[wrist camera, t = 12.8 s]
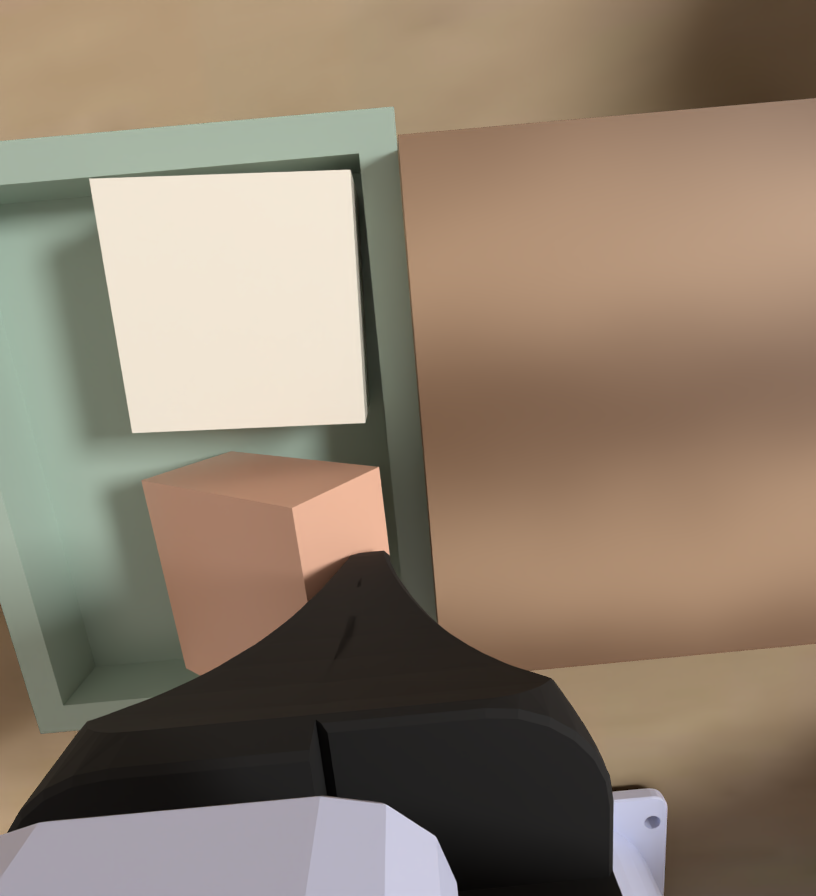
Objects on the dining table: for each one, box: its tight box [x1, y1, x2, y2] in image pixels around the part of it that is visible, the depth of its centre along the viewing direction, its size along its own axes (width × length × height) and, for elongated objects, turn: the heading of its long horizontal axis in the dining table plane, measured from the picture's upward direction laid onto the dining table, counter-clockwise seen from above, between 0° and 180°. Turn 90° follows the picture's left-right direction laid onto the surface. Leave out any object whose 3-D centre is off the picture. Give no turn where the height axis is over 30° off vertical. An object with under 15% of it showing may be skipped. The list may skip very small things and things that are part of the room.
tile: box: [89, 170, 370, 433], centre depth 12 cm, size 5×5×2 cm
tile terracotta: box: [141, 451, 390, 676], centre depth 13 cm, size 5×5×2 cm
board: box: [397, 98, 816, 671], centre depth 13 cm, size 12×10×3 cm
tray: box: [0, 107, 437, 734], centre depth 14 cm, size 14×11×2 cm
